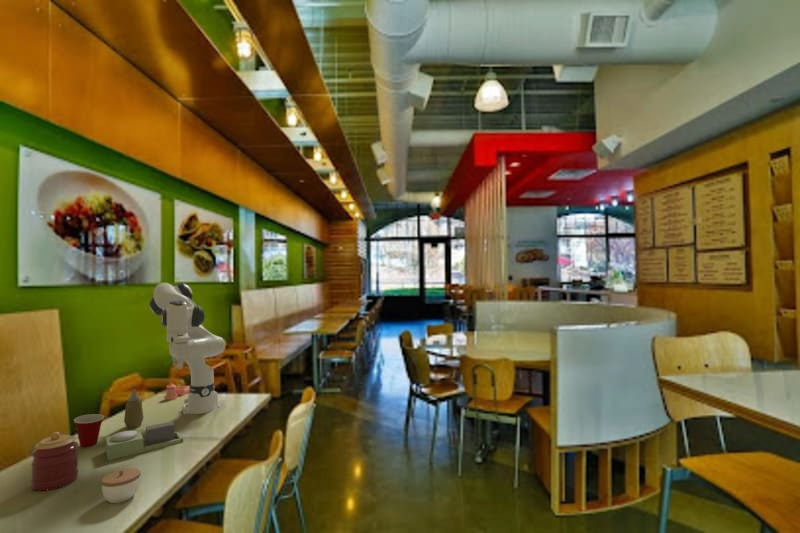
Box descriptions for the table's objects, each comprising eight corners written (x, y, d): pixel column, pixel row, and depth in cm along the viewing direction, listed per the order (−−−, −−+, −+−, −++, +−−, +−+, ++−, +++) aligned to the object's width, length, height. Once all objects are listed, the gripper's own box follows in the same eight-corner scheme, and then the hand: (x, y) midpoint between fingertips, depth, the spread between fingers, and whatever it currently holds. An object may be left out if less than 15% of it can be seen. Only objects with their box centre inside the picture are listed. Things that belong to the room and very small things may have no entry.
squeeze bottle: (147, 423, 210) (147, 387, 210) (135, 429, 202) (135, 391, 202) (132, 423, 211) (132, 387, 211) (119, 429, 203) (119, 391, 203)
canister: (72, 470, 160) (72, 423, 160) (83, 480, 152) (83, 430, 152) (27, 484, 150) (27, 433, 150) (35, 495, 141) (35, 442, 142)
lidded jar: (147, 490, 144) (147, 462, 144) (128, 507, 133) (128, 477, 133) (114, 491, 144) (114, 463, 144) (93, 508, 133) (93, 478, 133)
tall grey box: (145, 445, 183) (145, 426, 183) (171, 439, 189) (171, 421, 189) (147, 449, 179) (147, 429, 179) (174, 443, 185) (174, 424, 185)
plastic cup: (93, 449, 179) (93, 421, 179) (67, 450, 178) (67, 421, 179) (110, 439, 190) (110, 412, 190) (85, 440, 189) (85, 413, 190)
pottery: (173, 393, 266) (173, 377, 266) (189, 392, 267) (189, 376, 267) (160, 401, 248) (160, 384, 249) (177, 400, 249) (177, 384, 250)
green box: (105, 451, 177) (105, 434, 177) (177, 435, 194) (177, 419, 194) (108, 461, 168) (108, 442, 168) (183, 443, 184) (183, 426, 184)
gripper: (165, 335, 200) (165, 364, 200) (174, 339, 184) (174, 372, 184) (180, 333, 204) (180, 362, 204) (190, 338, 188) (190, 369, 188)
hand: (177, 367), depth 194 cm, fingers open, 8 cm apart
